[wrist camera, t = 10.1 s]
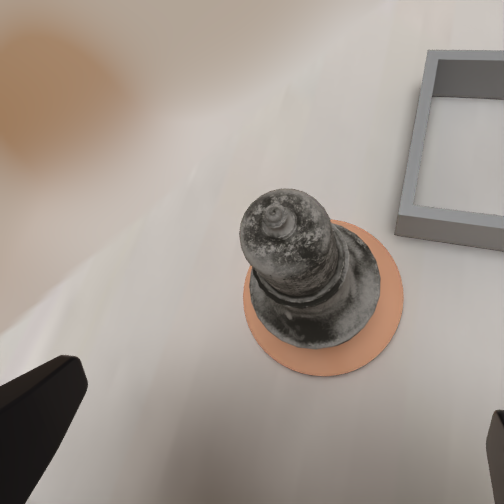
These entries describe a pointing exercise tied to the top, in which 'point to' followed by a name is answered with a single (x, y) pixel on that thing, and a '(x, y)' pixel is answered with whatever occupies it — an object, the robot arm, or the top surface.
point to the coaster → (355, 349)
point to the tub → (433, 84)
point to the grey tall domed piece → (307, 271)
